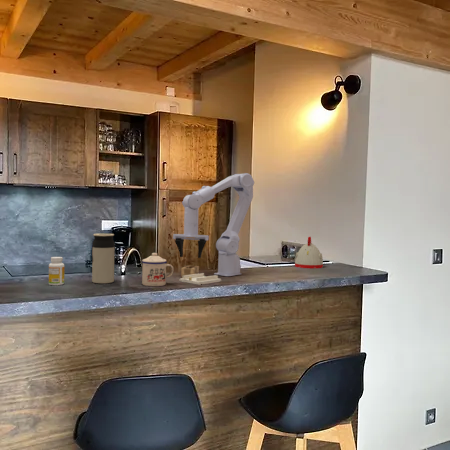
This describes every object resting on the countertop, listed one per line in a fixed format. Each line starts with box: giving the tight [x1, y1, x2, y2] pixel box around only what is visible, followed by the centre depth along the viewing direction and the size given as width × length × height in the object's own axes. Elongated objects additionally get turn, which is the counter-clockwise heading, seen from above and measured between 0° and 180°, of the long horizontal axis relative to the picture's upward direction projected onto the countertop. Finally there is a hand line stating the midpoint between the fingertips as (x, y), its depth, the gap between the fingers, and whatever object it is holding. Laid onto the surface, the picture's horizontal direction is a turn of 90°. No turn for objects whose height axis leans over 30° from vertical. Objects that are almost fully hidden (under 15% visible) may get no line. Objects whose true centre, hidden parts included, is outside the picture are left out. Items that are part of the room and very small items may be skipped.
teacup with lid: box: [141, 252, 174, 287], centre depth 182 cm, size 12×9×12 cm
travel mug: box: [91, 233, 116, 285], centre depth 184 cm, size 8×8×18 cm
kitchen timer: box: [294, 236, 324, 269], centre depth 246 cm, size 14×14×15 cm
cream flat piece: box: [178, 272, 222, 286], centre depth 191 cm, size 12×11×2 cm
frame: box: [180, 265, 200, 278], centre depth 202 cm, size 9×5×4 cm, turn 169°
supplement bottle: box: [48, 256, 66, 286], centre depth 177 cm, size 5×5×10 cm
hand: (190, 257), depth 202 cm, fingers open, 7 cm apart
